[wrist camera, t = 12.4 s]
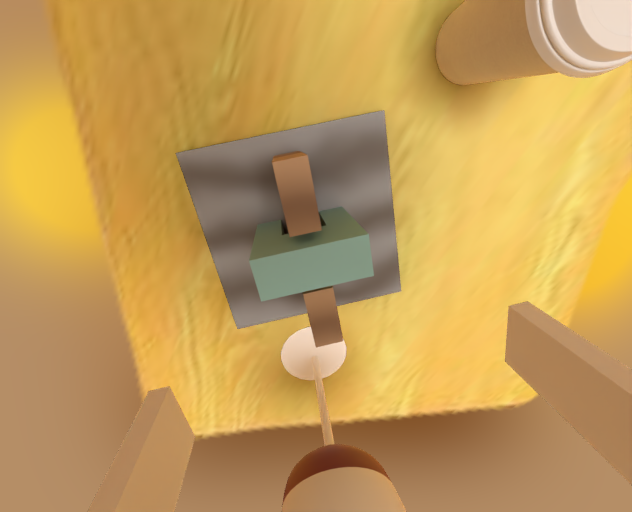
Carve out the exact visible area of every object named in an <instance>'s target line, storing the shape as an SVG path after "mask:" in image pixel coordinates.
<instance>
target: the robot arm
mask: <svg viewBox="0 0 632 512" xmlns="http://www.w3.org/2000/svg"><path fill="white" fill-rule="evenodd" d="M505 362H506V363H507V364H508V365H509V366H510V367H511V368H512V369H513V370H514V371H515V372H516V373H517V374H519V375H520V376H521V377H522V378H523V379H524V380H525V381H526V382H527V383H528V384H529V385H530V386H531V387H532V388H533V389H534V390H535V391H536V392H537V393H538V394H539V395H540V396H541V397H542V398H543V399H544V400H545V401H546V402H547V403H548V404H549V405H550V406H551V407H552V408H553V409H554V410H555V411H556V412H557V413H558V414H559V415H560V416H561V417H562V418H564V420H565V421H566V422H568V423H569V424H570V425H571V426H572V427H573V428H574V429H575V430H576V431H577V432H578V433H579V434H580V435H581V436H582V437H583V438H584V439H585V440H586V441H587V442H588V443H589V444H590V445H591V446H592V447H593V448H594V449H595V450H596V451H597V452H598V453H599V454H600V455H601V456H602V457H603V458H604V459H605V460H606V461H608V463H609V464H610V465H611V466H613V467H614V468H615V469H616V470H617V471H618V472H619V473H620V474H621V475H622V476H623V477H624V478H625V479H626V480H627V481H628V482H629V483H630V484H631V485H632V369H630V368H629V367H627V366H626V365H624V364H623V363H621V362H620V361H618V360H617V359H615V358H613V357H612V356H610V355H609V354H608V353H606V352H604V351H603V350H601V349H600V348H598V347H597V346H595V345H593V344H592V343H591V342H589V341H588V340H586V339H584V338H583V337H581V336H580V335H578V334H577V333H575V332H574V331H572V330H571V329H569V328H568V327H566V326H565V325H563V324H561V323H560V322H558V321H557V320H555V319H554V318H552V317H551V316H549V315H548V314H546V313H545V312H543V311H542V310H540V309H538V308H537V307H535V306H534V305H532V304H531V303H529V302H528V301H527V302H523V303H519V304H515V305H510V306H509V310H508V324H507V339H506V353H505ZM194 439H195V436H194V434H193V432H192V430H191V428H190V426H189V424H188V422H187V420H186V418H185V416H184V414H183V412H182V410H181V408H180V406H179V404H178V402H177V400H176V398H175V396H174V394H173V392H172V390H171V388H170V386H168V387H164V388H160V389H156V390H152V391H149V392H148V394H147V396H146V397H145V399H144V401H143V403H142V405H141V407H140V409H139V411H138V413H137V415H136V417H135V419H134V421H133V423H132V425H131V427H130V429H129V431H128V433H127V435H126V437H125V439H124V441H123V443H122V444H121V446H120V449H119V450H118V452H117V454H116V456H115V458H114V460H113V462H112V464H111V466H110V468H109V470H108V472H107V474H106V476H105V478H104V480H103V482H102V484H101V486H100V488H99V489H98V492H97V494H96V495H95V497H94V499H93V501H92V503H91V505H90V507H89V509H88V511H87V512H174V511H175V508H176V504H177V501H178V497H179V493H180V489H181V486H182V483H183V479H184V475H185V472H186V468H187V464H188V461H189V457H190V454H191V450H192V446H193V443H194Z"/></svg>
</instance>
